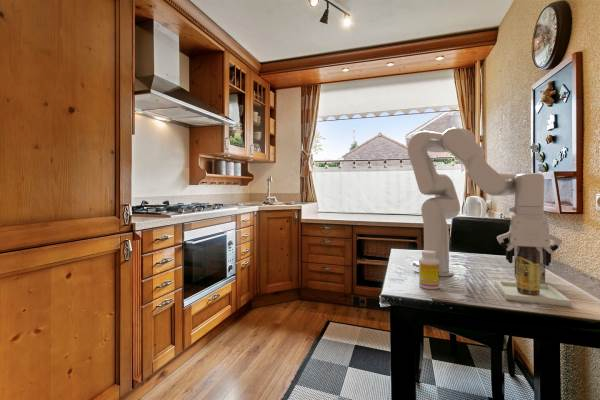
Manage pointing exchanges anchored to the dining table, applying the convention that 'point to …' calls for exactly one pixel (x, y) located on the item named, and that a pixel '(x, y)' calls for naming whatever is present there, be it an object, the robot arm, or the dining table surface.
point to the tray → (544, 297)
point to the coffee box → (542, 266)
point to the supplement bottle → (429, 270)
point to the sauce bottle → (528, 270)
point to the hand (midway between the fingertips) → (527, 263)
